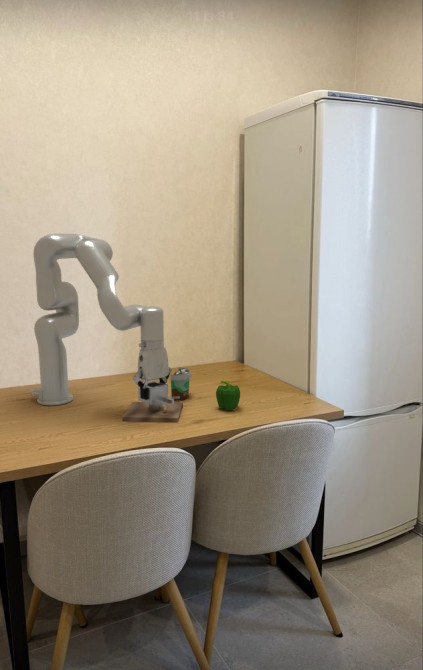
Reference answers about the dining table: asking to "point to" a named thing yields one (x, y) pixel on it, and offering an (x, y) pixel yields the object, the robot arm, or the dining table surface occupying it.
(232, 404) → the bell pepper
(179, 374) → the food container
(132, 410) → the post board
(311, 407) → the dining table surface
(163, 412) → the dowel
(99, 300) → the robot arm
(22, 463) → the dining table surface
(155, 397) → the bracket
